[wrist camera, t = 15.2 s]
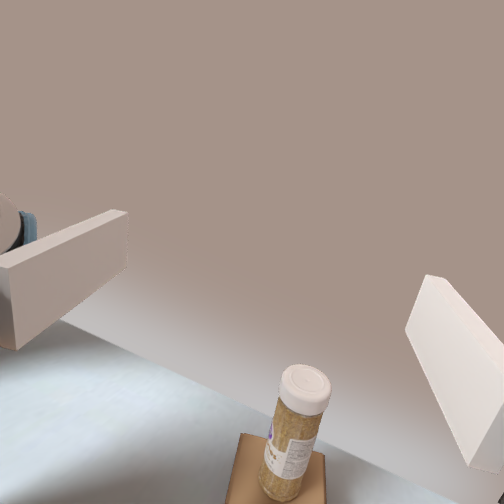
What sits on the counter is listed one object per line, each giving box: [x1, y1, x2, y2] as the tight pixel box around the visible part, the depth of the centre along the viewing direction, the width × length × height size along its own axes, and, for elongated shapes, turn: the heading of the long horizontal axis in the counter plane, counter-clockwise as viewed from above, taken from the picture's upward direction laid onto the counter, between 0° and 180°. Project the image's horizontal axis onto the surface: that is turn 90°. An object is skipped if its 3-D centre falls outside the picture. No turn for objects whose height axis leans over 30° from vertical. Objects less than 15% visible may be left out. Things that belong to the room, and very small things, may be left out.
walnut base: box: [225, 433, 327, 504], centre depth 36 cm, size 10×10×4 cm
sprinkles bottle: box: [258, 364, 332, 502], centre depth 33 cm, size 5×5×14 cm
